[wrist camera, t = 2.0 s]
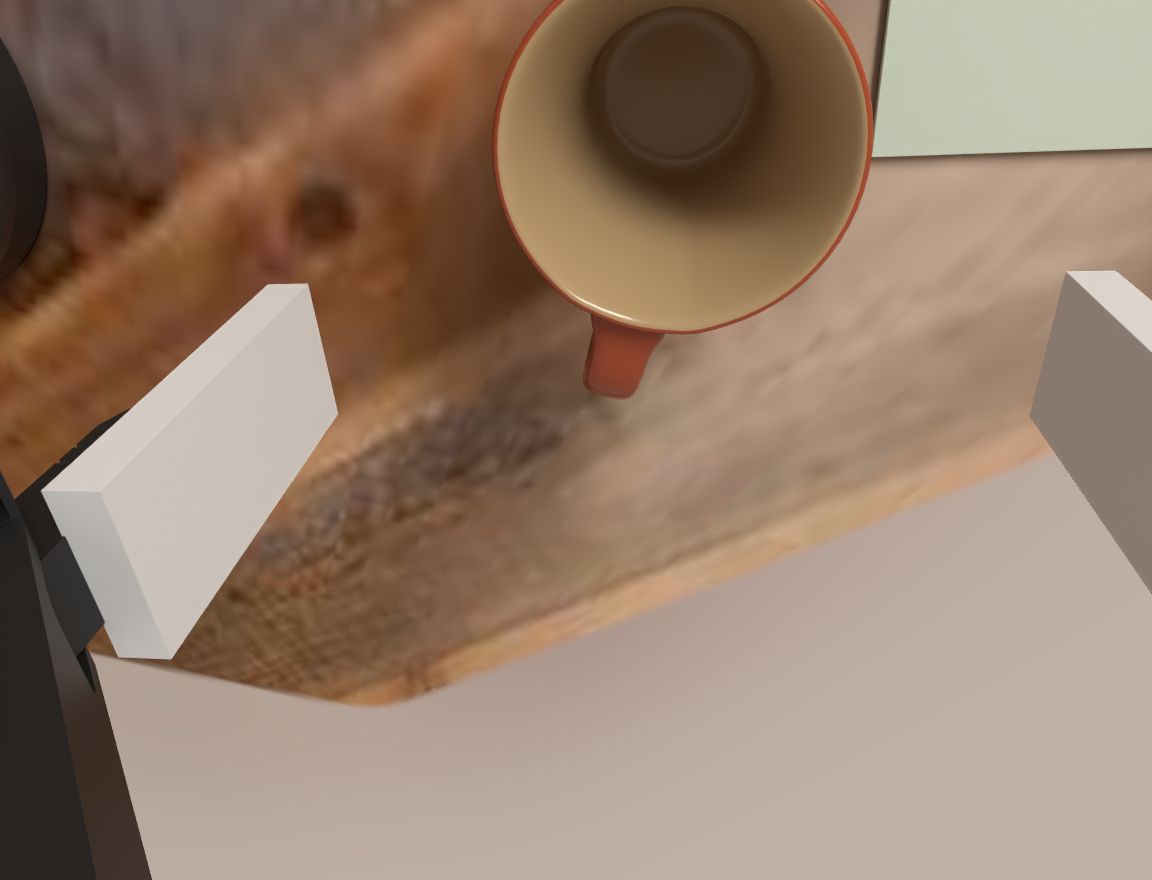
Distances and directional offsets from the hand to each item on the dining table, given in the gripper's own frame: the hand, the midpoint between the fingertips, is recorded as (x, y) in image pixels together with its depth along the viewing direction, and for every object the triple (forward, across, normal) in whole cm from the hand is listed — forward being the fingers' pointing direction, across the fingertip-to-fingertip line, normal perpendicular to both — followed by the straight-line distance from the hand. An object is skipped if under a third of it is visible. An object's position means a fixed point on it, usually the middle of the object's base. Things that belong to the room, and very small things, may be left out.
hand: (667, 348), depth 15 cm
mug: (+17, 0, 0) cm, 17 cm away
